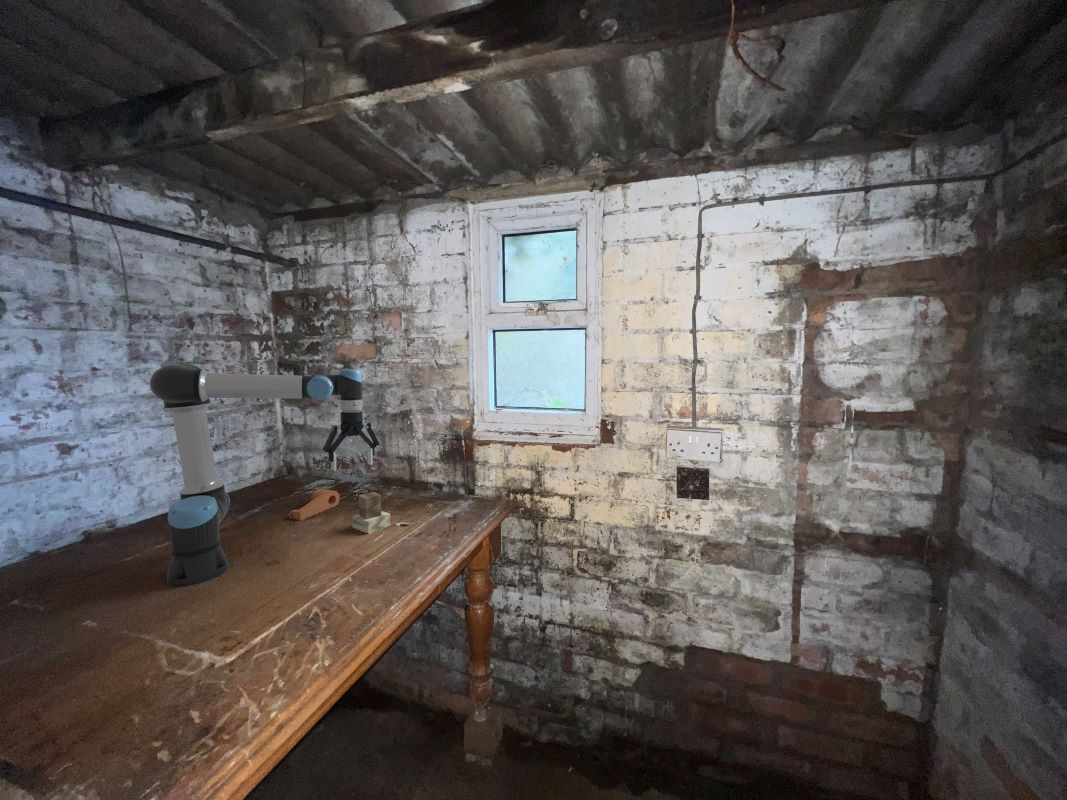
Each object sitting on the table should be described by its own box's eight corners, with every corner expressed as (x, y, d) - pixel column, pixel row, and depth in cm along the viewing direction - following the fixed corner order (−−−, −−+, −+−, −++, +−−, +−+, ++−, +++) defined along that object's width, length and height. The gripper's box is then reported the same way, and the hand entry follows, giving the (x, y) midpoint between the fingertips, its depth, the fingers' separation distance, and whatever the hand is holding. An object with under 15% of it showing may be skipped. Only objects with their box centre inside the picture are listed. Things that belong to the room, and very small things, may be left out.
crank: (326, 503, 194) (325, 486, 193) (339, 505, 191) (338, 488, 190) (286, 519, 176) (285, 500, 175) (300, 522, 173) (299, 503, 172)
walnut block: (366, 519, 162) (365, 498, 161) (359, 515, 166) (358, 495, 166) (381, 515, 167) (380, 495, 166) (374, 511, 171) (373, 491, 170)
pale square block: (368, 534, 160) (368, 521, 160) (352, 529, 166) (351, 516, 165) (390, 525, 169) (390, 513, 168) (374, 520, 174) (374, 508, 174)
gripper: (319, 414, 148) (321, 475, 149) (388, 409, 165) (388, 463, 167) (312, 412, 153) (313, 470, 155) (379, 407, 170) (379, 460, 172)
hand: (352, 467), depth 161 cm, fingers open, 13 cm apart
